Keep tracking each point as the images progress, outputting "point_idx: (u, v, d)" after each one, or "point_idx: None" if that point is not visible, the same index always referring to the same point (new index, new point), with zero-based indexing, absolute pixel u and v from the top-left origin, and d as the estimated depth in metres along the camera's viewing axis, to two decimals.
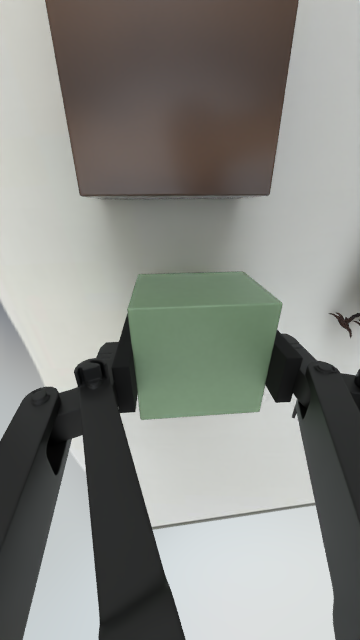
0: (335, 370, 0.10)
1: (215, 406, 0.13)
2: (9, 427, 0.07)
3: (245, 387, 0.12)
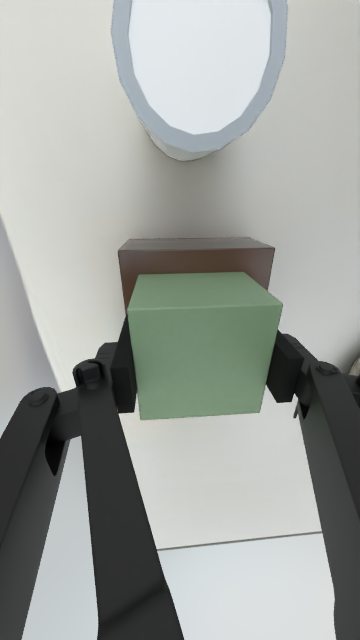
0: (336, 370, 0.10)
1: (216, 407, 0.13)
2: (7, 428, 0.07)
3: (245, 388, 0.12)
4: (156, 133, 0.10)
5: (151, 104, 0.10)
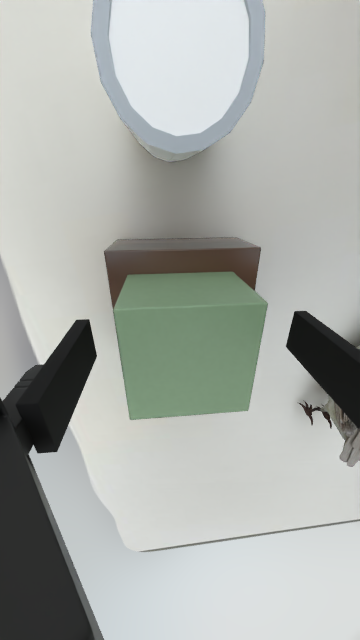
0: None
1: (204, 406, 0.13)
2: None
3: (233, 386, 0.13)
4: (139, 134, 0.10)
5: (133, 106, 0.10)
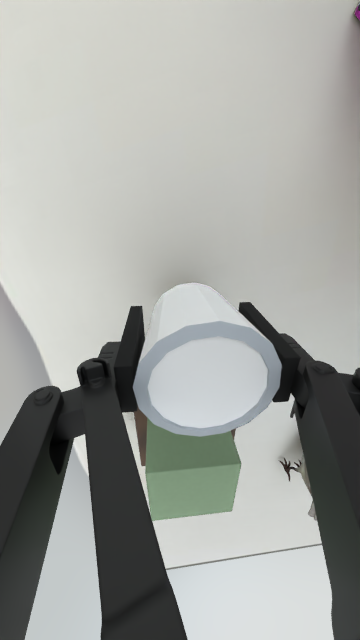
0: (332, 369, 0.10)
1: (202, 511, 0.19)
2: (12, 426, 0.07)
3: (221, 500, 0.19)
4: None
5: (165, 418, 0.11)
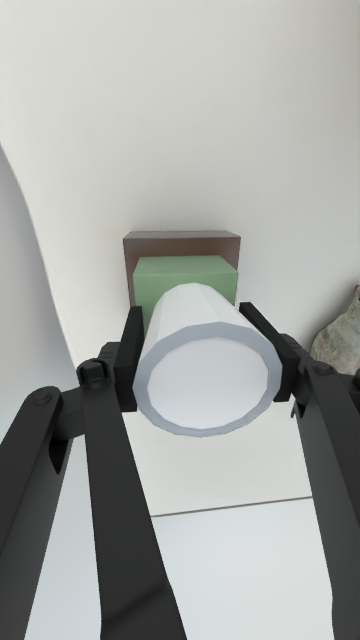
0: (333, 370, 0.10)
1: None
2: (12, 426, 0.07)
3: None
4: (169, 431, 0.12)
5: (165, 418, 0.11)
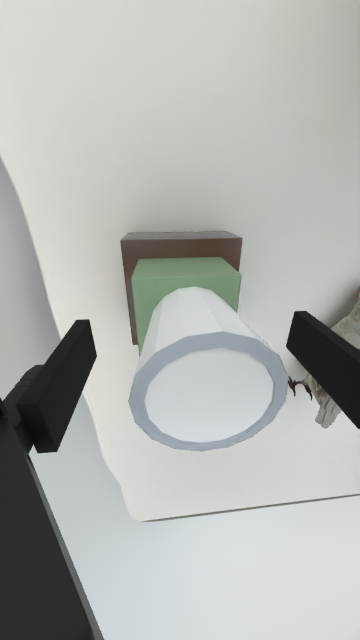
0: None
1: None
2: None
3: None
4: (168, 445, 0.11)
5: (164, 432, 0.10)
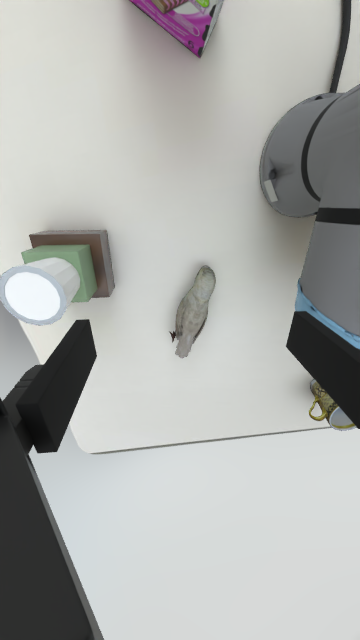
0: None
1: None
2: None
3: None
4: None
5: (18, 313, 0.25)
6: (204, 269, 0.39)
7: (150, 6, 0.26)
